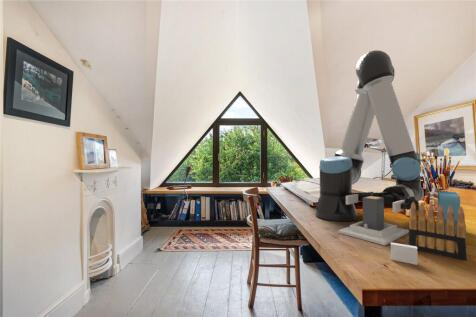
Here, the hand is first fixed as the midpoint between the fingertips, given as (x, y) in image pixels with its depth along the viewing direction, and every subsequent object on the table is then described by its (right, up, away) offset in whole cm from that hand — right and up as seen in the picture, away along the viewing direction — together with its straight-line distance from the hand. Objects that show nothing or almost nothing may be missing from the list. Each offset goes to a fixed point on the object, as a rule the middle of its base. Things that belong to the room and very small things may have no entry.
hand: (368, 203), depth 70 cm
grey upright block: (+2, -8, +2) cm, 9 cm away
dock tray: (+2, -9, +2) cm, 10 cm away
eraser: (-2, -10, -18) cm, 20 cm away
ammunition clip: (+9, -10, -14) cm, 19 cm away
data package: (+26, -9, +2) cm, 28 cm away
